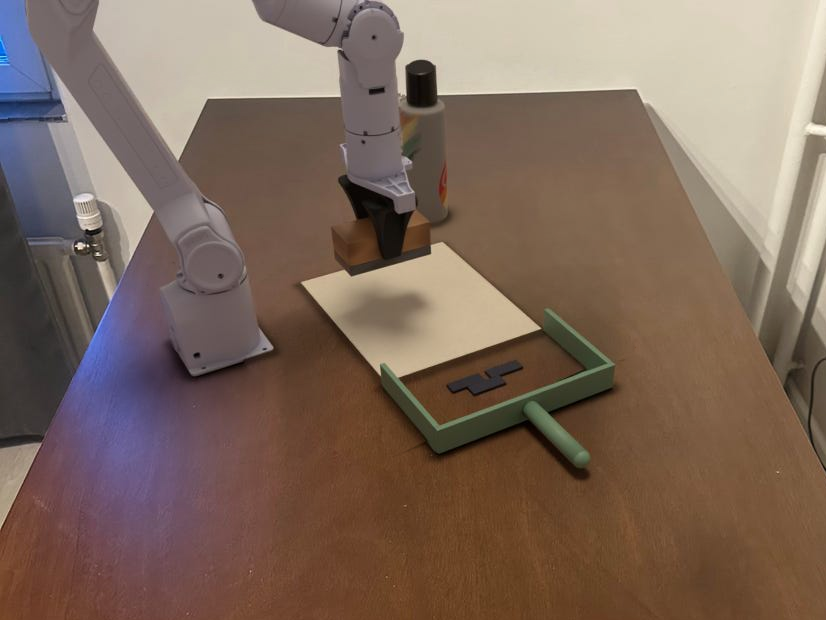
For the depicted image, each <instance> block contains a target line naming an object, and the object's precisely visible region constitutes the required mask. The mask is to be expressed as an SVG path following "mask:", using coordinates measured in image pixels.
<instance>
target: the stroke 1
mask: <svg viewBox="0 0 826 620" xmlns="http://www.w3.org/2000/svg"><path fill="white" fill-rule="evenodd" d="M484 380H486V378H484V377H483V375H481V374H480V372H477V373H474V374H471V375H468V376H465V377H462V378H460V379H457V380H454V381H451V382H448V383H446V386H445V387H446V388H447V389H448V390H449V392H451V393H452V395H454V394H457V393H460V392H463V391H465V390H466V391H467V390H468V389H467V387H468V386H470V385H473V384H476V383H479V382H481V381H484Z"/></svg>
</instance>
